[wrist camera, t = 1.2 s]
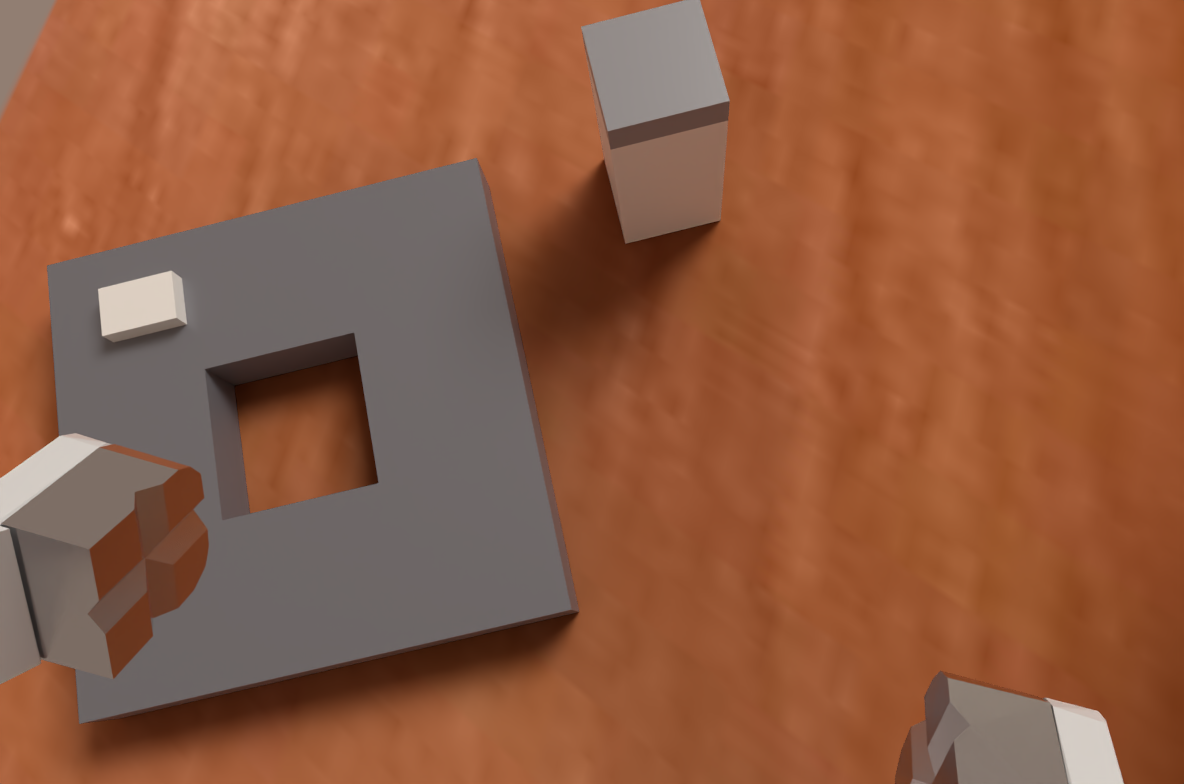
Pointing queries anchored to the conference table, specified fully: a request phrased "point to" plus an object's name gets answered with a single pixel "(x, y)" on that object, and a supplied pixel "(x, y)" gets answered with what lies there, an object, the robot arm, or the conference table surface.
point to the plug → (660, 117)
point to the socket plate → (396, 419)
